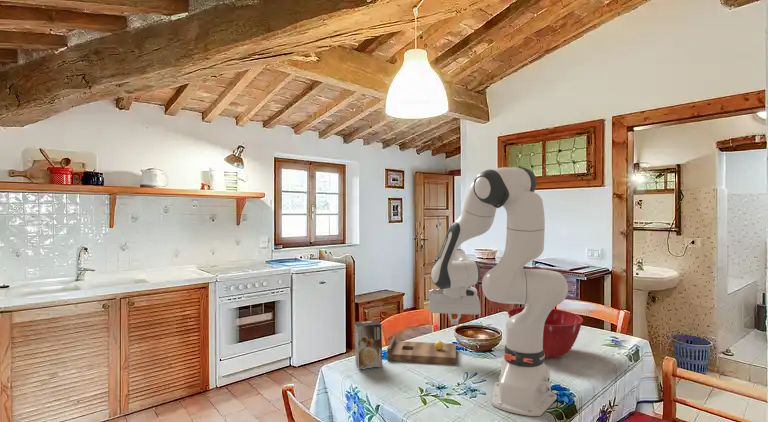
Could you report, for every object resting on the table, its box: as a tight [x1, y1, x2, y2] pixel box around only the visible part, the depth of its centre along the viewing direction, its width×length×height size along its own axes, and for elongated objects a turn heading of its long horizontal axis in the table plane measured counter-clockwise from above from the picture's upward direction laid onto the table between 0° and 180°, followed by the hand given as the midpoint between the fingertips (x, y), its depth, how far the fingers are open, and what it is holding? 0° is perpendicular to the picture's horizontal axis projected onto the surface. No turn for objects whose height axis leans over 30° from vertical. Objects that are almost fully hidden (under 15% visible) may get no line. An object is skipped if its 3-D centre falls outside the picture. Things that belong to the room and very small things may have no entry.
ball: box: [434, 340, 443, 350], centre depth 161 cm, size 4×4×4 cm
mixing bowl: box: [507, 306, 584, 360], centre depth 164 cm, size 28×28×16 cm
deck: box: [386, 335, 457, 365], centre depth 162 cm, size 26×16×4 cm, turn 80°
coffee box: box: [354, 320, 383, 370], centre depth 151 cm, size 9×6×16 cm
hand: (454, 324), depth 160 cm, fingers closed
